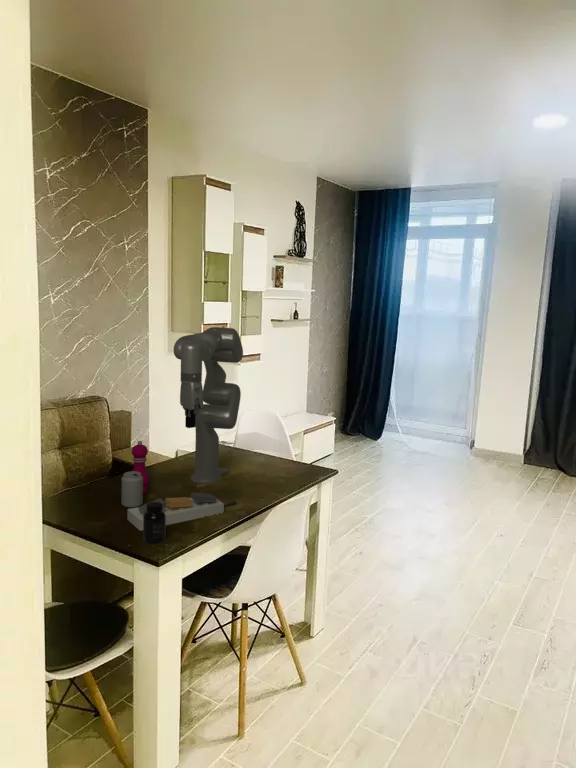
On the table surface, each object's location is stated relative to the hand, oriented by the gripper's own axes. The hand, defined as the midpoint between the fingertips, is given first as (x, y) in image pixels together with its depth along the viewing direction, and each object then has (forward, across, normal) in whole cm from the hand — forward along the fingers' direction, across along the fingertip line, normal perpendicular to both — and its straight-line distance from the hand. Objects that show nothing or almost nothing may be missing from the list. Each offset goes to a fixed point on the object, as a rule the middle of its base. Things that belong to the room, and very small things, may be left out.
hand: (190, 427), depth 218 cm
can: (+29, +7, +19) cm, 35 cm away
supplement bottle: (+28, -25, +25) cm, 45 cm away
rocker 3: (+22, -13, +1) cm, 26 cm away
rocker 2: (+22, -13, +10) cm, 28 cm away
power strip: (+28, -11, +10) cm, 32 cm away
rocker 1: (+22, -13, +20) cm, 32 cm away
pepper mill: (+29, +20, +11) cm, 37 cm away
